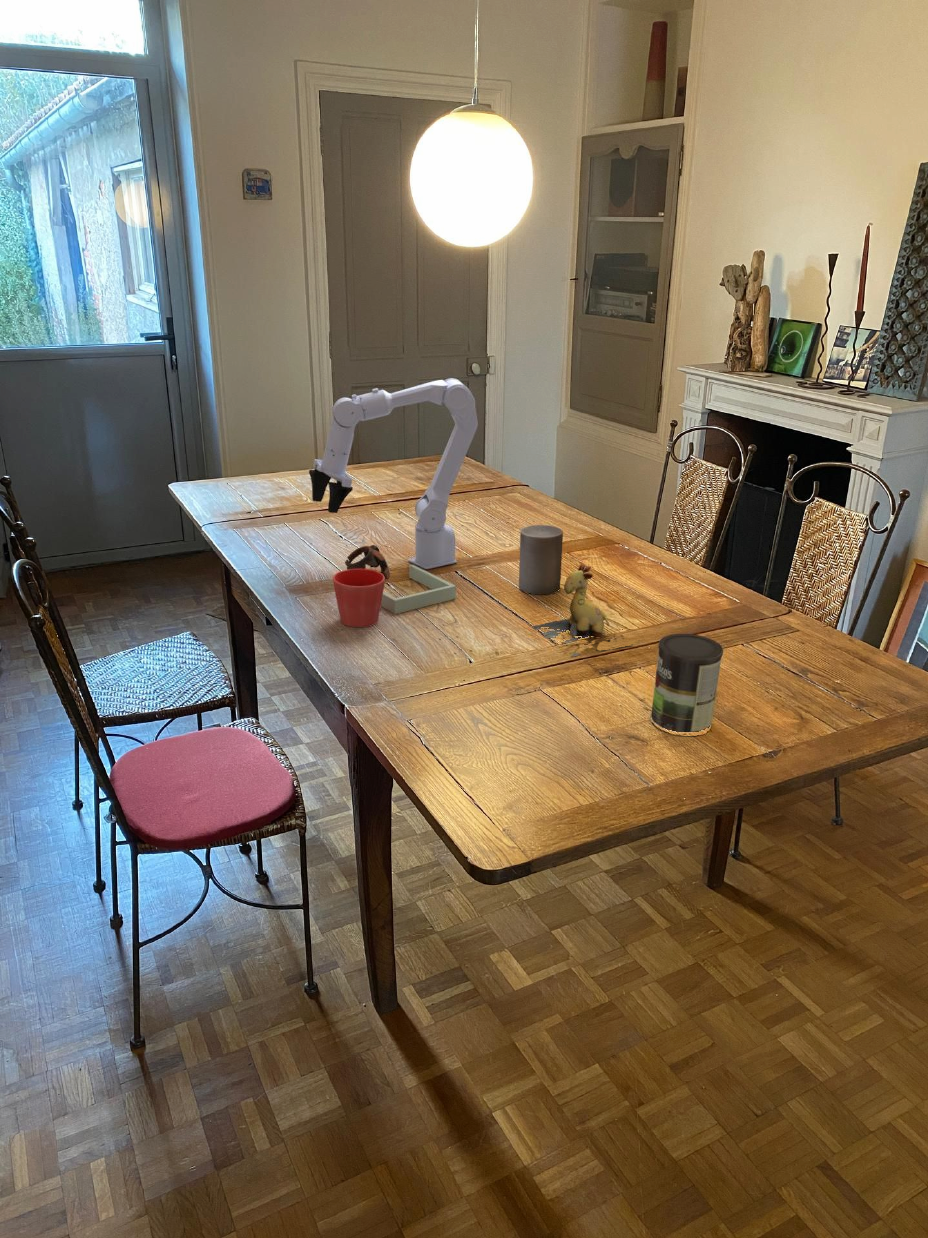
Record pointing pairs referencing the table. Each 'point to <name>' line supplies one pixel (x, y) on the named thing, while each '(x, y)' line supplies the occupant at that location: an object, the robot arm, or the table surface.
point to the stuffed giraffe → (578, 611)
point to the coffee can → (686, 682)
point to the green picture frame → (438, 594)
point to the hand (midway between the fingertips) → (324, 506)
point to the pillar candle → (540, 559)
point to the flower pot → (359, 596)
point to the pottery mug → (368, 559)
